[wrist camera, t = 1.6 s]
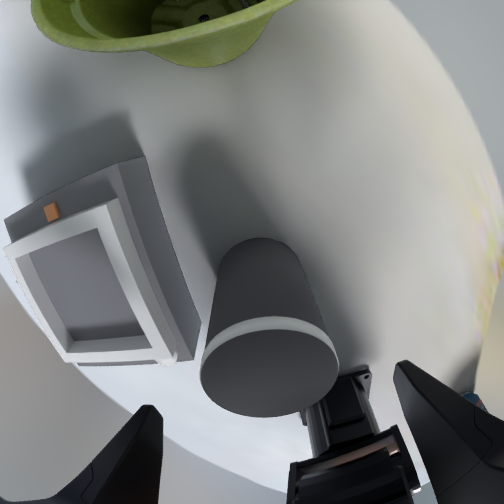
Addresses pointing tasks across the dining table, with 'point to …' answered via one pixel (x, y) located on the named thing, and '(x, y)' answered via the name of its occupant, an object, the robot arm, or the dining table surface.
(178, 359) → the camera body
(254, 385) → the lens
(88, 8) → the plant pot
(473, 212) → the dining table surface
